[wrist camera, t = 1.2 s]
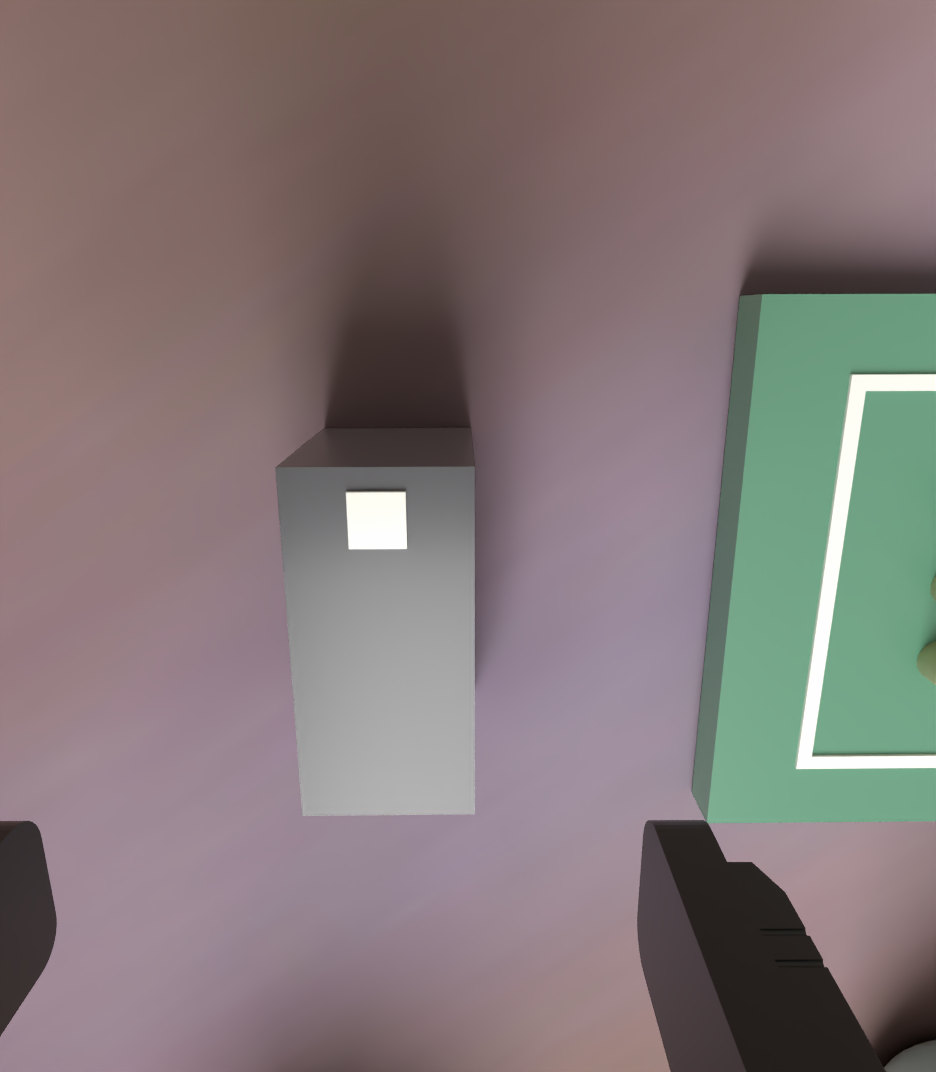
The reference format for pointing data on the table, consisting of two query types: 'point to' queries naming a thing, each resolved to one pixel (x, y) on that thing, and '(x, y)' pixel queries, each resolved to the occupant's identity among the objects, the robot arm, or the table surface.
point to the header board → (824, 567)
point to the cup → (914, 1059)
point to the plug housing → (382, 619)
